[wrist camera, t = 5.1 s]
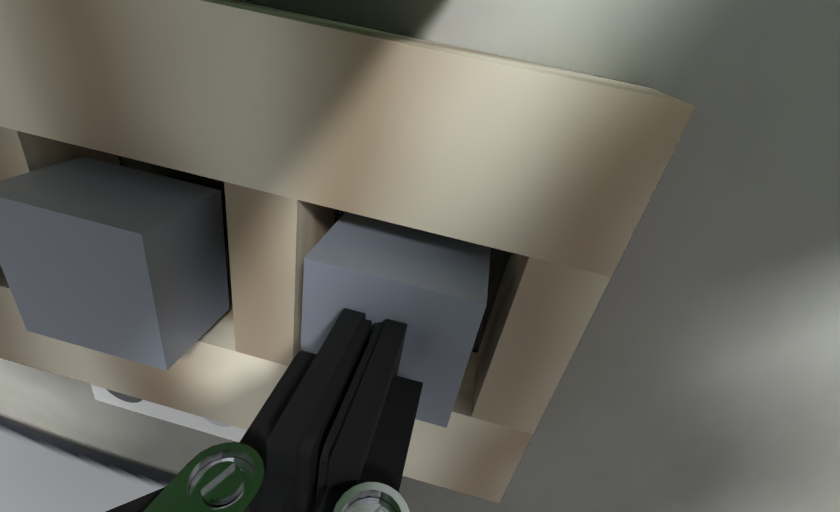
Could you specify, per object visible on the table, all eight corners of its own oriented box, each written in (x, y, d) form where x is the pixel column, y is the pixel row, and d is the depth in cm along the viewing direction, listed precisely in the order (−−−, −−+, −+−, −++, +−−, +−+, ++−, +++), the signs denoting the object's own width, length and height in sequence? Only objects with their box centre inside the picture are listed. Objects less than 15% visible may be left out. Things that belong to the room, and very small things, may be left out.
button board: (649, 87, 10) (695, 105, 8) (500, 434, 17) (498, 504, 15) (-219, -96, 12) (-412, -130, 10) (-41, 282, 19) (-125, 321, 17)
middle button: (220, 190, 12) (141, 234, 9) (229, 308, 14) (167, 371, 12) (83, 156, 12) (-30, 189, 10) (113, 277, 14) (26, 330, 12)
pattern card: (361, 418, 19) (358, 425, 18) (353, 470, 21) (350, 477, 20) (82, 339, 20) (74, 344, 19) (100, 395, 22) (93, 401, 21)
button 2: (491, 245, 12) (486, 304, 9) (457, 355, 14) (446, 427, 12) (347, 210, 12) (303, 258, 10) (336, 323, 14) (299, 386, 12)
